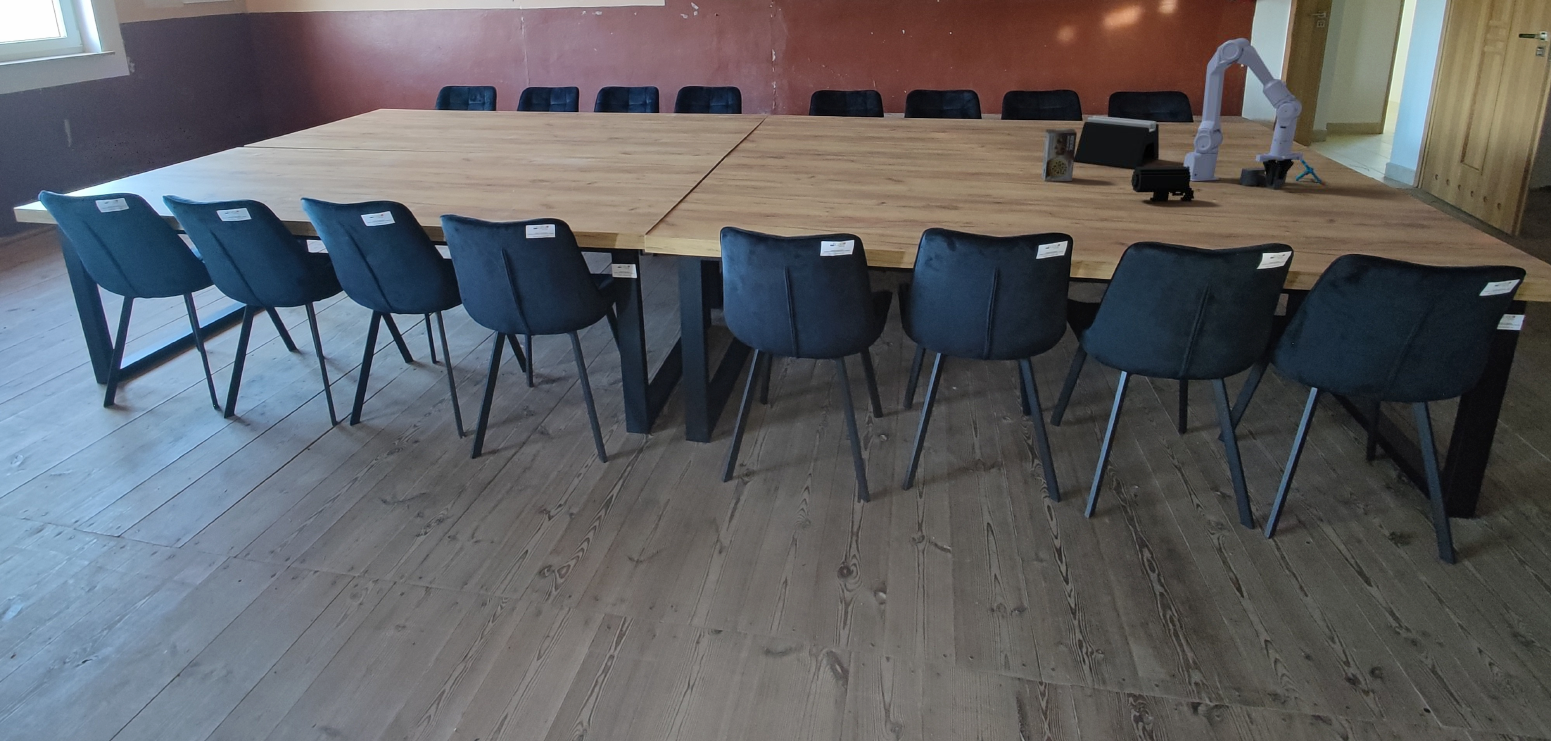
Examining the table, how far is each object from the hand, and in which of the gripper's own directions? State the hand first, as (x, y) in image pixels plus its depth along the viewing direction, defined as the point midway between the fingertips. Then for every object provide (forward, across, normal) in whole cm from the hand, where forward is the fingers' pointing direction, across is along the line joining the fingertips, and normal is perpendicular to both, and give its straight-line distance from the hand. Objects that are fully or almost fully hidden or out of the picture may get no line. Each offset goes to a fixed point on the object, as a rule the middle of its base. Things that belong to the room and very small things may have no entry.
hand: (1273, 183), depth 289 cm
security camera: (+2, -42, -8) cm, 43 cm away
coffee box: (+2, -61, +26) cm, 66 cm away
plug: (+1, 0, +5) cm, 6 cm away
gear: (+2, +17, +6) cm, 18 cm away
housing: (+1, 0, +6) cm, 6 cm away
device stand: (+2, -28, +50) cm, 57 cm away
